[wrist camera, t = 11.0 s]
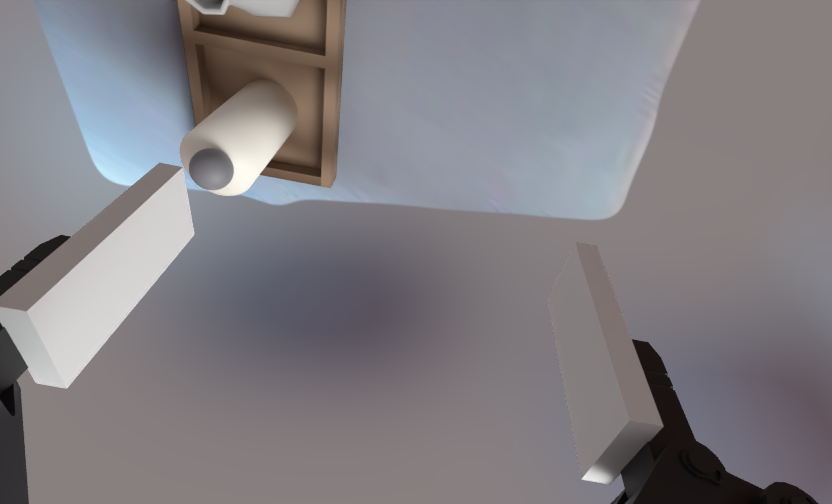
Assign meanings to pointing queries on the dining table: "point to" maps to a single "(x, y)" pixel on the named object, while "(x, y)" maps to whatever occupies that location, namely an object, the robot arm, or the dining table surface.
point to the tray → (274, 75)
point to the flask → (247, 7)
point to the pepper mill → (239, 138)
